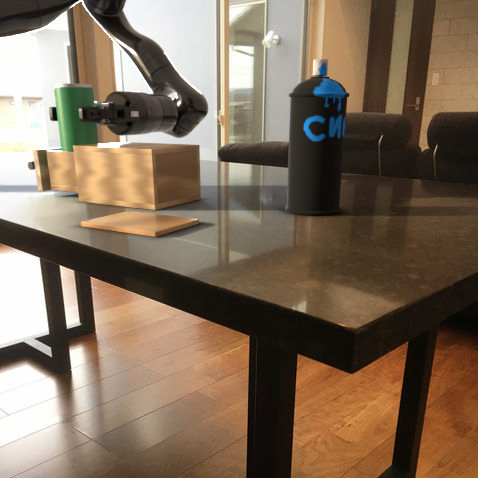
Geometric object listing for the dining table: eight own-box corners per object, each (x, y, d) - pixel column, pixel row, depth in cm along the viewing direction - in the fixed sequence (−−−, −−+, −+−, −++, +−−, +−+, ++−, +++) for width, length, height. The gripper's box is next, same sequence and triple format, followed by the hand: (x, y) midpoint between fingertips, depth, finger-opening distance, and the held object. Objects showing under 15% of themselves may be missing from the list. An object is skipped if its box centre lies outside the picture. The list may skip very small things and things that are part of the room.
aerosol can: (274, 208, 78) (278, 60, 71) (319, 204, 82) (327, 63, 74) (305, 217, 71) (313, 55, 64) (352, 212, 75) (365, 58, 67)
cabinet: (79, 201, 84) (72, 145, 81) (129, 192, 93) (125, 142, 90) (155, 210, 77) (151, 149, 73) (201, 199, 86) (199, 144, 83)
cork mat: (80, 226, 66) (80, 221, 65) (128, 215, 73) (128, 210, 73) (155, 237, 60) (155, 232, 60) (199, 223, 67) (199, 219, 67)
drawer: (21, 189, 91) (15, 148, 88) (69, 182, 99) (64, 145, 97) (100, 197, 82) (96, 152, 79) (145, 189, 91) (142, 148, 88)
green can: (57, 182, 89) (44, 84, 83) (84, 179, 94) (74, 85, 88) (83, 185, 86) (72, 83, 80) (109, 181, 91) (101, 84, 85)
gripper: (103, 92, 99) (31, 89, 86) (163, 91, 93) (95, 88, 79) (107, 133, 102) (38, 137, 89) (165, 135, 95) (100, 139, 82)
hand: (65, 114), depth 84 cm, fingers closed on green can, 6 cm apart
